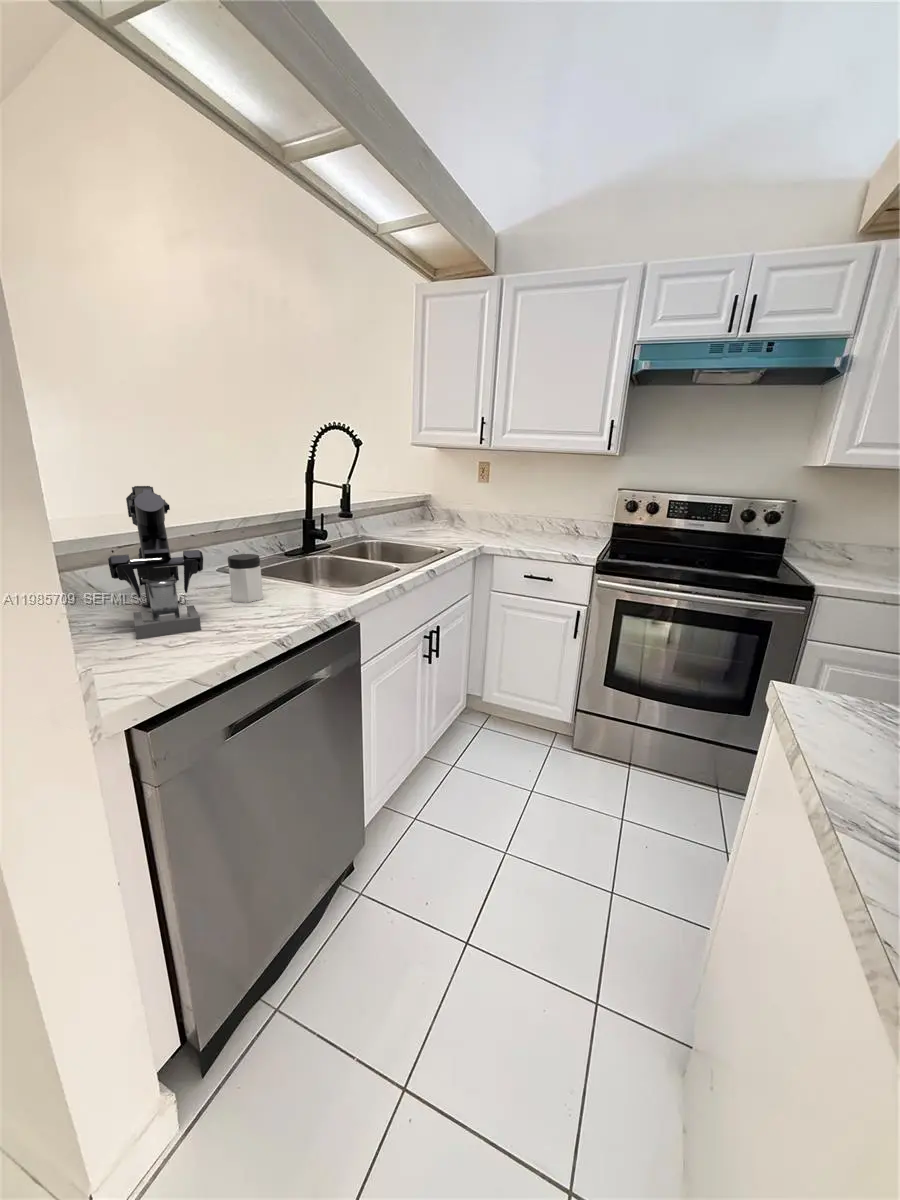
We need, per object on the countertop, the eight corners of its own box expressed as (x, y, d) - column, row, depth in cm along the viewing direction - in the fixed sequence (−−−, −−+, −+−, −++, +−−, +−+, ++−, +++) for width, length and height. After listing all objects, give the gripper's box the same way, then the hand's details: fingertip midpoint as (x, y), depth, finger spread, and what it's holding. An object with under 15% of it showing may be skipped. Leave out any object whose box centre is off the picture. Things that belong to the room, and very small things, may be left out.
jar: (264, 601, 137) (261, 558, 133) (232, 604, 133) (228, 560, 130) (261, 593, 144) (257, 552, 141) (231, 596, 141) (226, 554, 138)
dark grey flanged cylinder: (145, 627, 114) (138, 581, 111) (172, 620, 120) (165, 576, 116) (162, 632, 111) (156, 585, 108) (189, 624, 117) (183, 579, 114)
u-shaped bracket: (135, 624, 116) (132, 606, 115) (195, 616, 122) (193, 599, 121) (136, 639, 107) (133, 620, 106) (201, 629, 114) (198, 611, 112)
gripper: (196, 555, 129) (207, 606, 123) (110, 561, 119) (118, 617, 113) (197, 528, 120) (209, 582, 115) (104, 533, 110) (112, 592, 105)
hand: (163, 594), depth 112 cm, fingers open, 9 cm apart
